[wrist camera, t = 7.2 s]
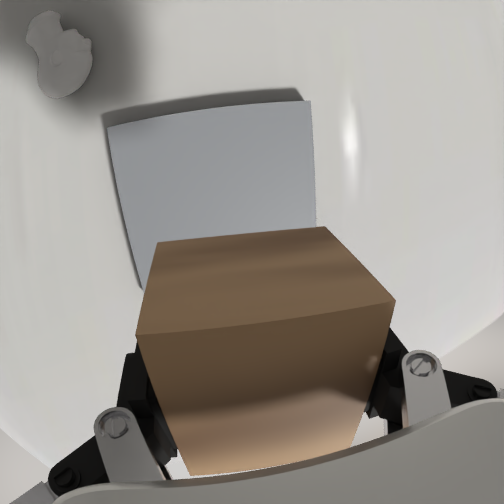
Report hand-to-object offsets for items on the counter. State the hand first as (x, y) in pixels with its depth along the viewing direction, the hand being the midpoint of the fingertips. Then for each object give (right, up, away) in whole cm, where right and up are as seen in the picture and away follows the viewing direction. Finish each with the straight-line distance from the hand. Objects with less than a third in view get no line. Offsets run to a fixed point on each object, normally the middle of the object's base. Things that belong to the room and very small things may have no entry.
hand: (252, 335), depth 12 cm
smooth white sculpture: (-15, +20, +8) cm, 26 cm away
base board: (-3, +7, +16) cm, 17 cm away
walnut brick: (0, 0, +1) cm, 1 cm away
